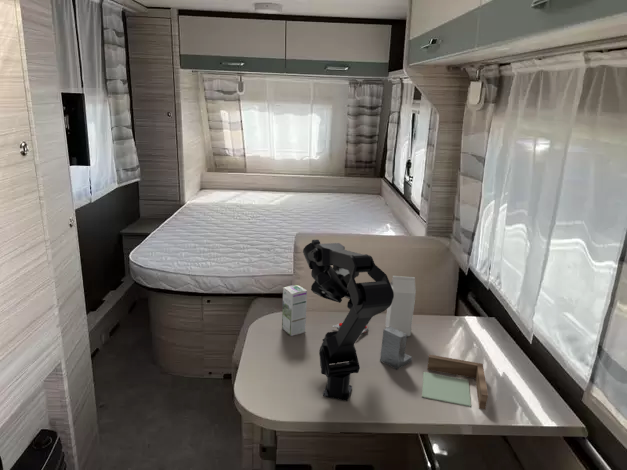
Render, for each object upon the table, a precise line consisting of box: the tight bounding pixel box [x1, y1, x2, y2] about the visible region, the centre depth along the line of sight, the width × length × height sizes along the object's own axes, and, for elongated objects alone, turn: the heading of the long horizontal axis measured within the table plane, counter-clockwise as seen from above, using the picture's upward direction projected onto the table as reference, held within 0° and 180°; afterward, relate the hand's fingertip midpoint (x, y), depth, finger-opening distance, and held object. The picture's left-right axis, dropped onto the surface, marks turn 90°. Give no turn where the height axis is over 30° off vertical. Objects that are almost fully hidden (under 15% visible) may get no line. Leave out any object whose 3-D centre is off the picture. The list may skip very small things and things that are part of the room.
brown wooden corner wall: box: [426, 354, 489, 410], centre depth 128 cm, size 16×14×4 cm
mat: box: [421, 371, 472, 407], centre depth 127 cm, size 12×12×1 cm
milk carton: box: [384, 275, 417, 337], centre depth 155 cm, size 7×7×19 cm
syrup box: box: [281, 284, 308, 337], centre depth 152 cm, size 6×6×14 cm
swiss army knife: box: [331, 322, 369, 335], centre depth 156 cm, size 12×14×2 cm
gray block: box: [379, 327, 413, 370], centre depth 138 cm, size 7×6×10 cm
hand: (352, 306), depth 141 cm, fingers open, 9 cm apart
